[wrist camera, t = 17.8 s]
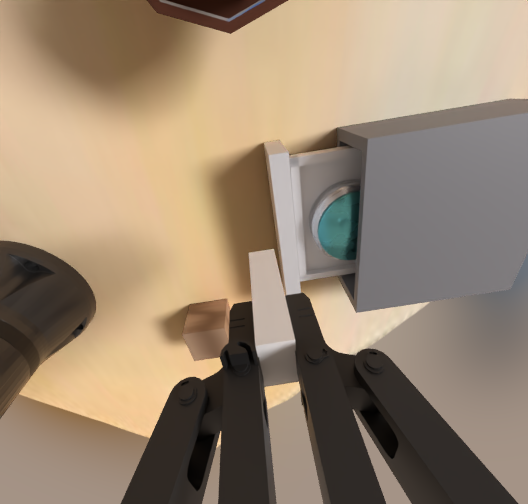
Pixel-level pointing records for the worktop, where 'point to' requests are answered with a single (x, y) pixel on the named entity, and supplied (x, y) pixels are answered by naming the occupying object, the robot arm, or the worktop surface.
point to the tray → (305, 208)
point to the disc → (337, 219)
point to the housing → (440, 204)
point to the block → (207, 329)
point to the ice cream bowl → (216, 11)
